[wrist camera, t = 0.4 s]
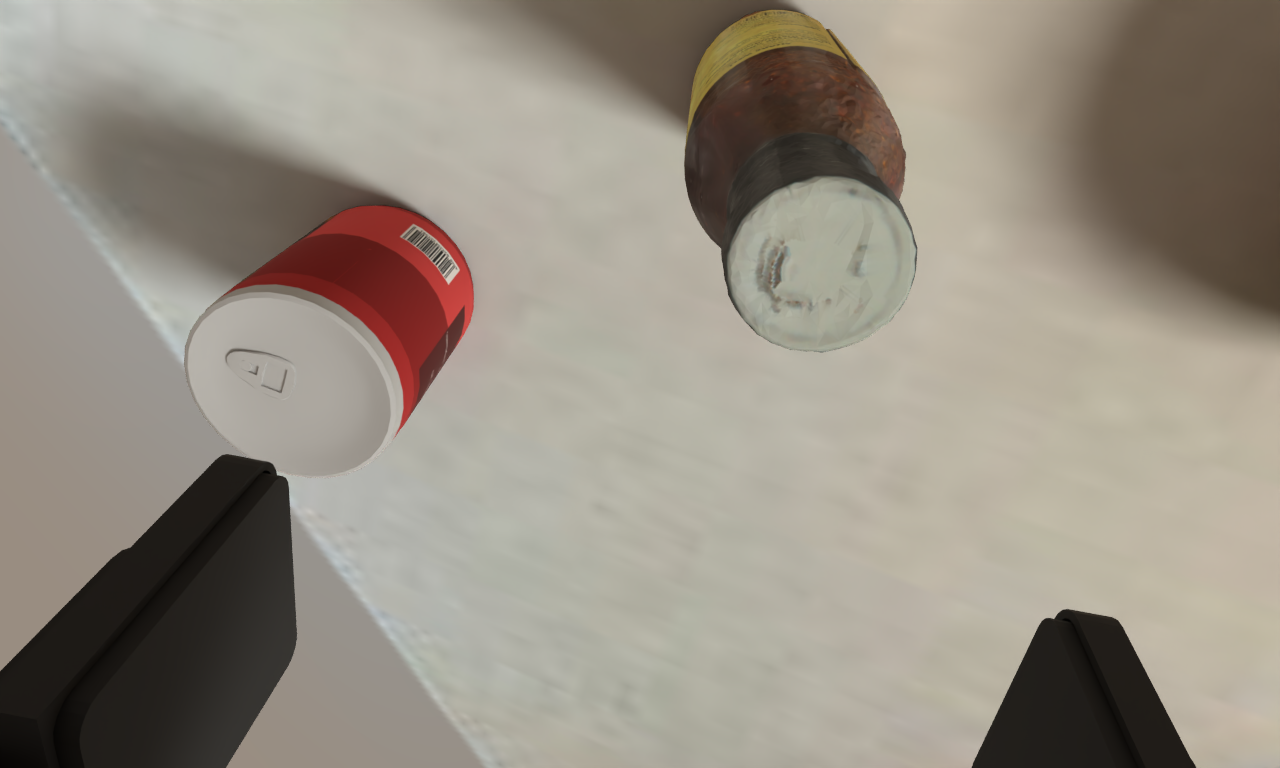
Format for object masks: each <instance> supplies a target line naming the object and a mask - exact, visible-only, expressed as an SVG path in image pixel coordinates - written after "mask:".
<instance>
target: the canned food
mask: <svg viewBox="0 0 1280 768" xmlns="http://www.w3.org/2000/svg"><path fill="white" fill-rule="evenodd" d="M473 303H474V292H473V283H472V278H471V273H470V270H469V268H468V265H467V263H466V260H465V258H464V256H463V255H462V253H461V252H460V250H459V249H458V247H457V245H456V244H455V243H454V242H453V241H452V240H451V238H450V237H449V236H448V235H447V234H446V233H445V232H444V231H443V230H441V229H440V228H439V227H438V226H436V225H435V224H434V223H432V222H431V221H429V220H427V219H426V218H424V217H422V216H420V215H418V214H416V213H414V212H411V211H408V210H405V209H402V208H397V207H391V206H384V205H383V206H359V207H355V208H351V209H347V210H344V211H342V212H340V213H338V214H336V215H334V216H332V217H330V218H329V219H328V220H326V221H325V222H323V223H322V224H321V225H319V226H318V227H316V228H315V229H314V230H312V231H311V232H309V233H308V234H307V235H305V236H304V237H302V238H301V239H300V240H298V241H297V242H295V243H294V244H293V245H291V246H290V247H288V248H287V249H286V250H284V251H283V252H282V253H280V254H279V255H277V256H276V257H275V258H273V259H272V260H270V261H269V262H268V263H266V264H265V265H263V266H262V267H261V268H259V269H258V270H256V271H255V272H254V273H252V274H251V275H249V276H248V277H247V278H245V279H244V280H242V281H241V282H240V283H238V284H237V285H235V286H234V287H233V288H232V289H231V290H230V291H228V292H227V293H226V294H224V295H223V296H221V297H220V298H219V299H218V300H217V301H215V302H214V303H213V304H212V305H211V306H210V307H208V308H207V309H206V311H205V312H204V313H203V314H202V315H201V316H200V317H199V318H198V320H197V321H196V323H195V324H194V326H193V327H192V329H191V330H190V333H189V336H188V339H187V342H186V346H185V357H184V367H185V373H186V379H187V383H188V386H189V388H190V391H191V394H192V396H193V399H194V401H195V403H196V404H197V406H198V408H199V410H200V411H201V413H202V415H203V416H204V418H205V419H206V420H207V421H208V423H209V424H210V425H211V426H212V427H213V428H214V430H215V431H216V432H217V433H218V434H219V435H220V436H221V437H222V438H223V439H224V440H226V441H227V442H228V443H229V444H230V445H231V446H232V447H234V448H235V449H237V450H238V451H240V452H241V453H243V454H244V455H245V456H247V457H248V458H251V459H256V460H261V461H267V462H270V463H272V464H273V465H274V467H275V469H276V470H277V471H280V472H283V473H286V474H289V475H295V476H301V477H307V478H331V477H336V476H342V475H347V474H349V473H352V472H354V471H357V470H359V469H362V468H363V467H365V466H366V465H368V464H369V463H371V462H372V461H373V460H375V459H376V458H377V457H378V456H379V454H380V453H382V452H383V451H384V450H385V449H386V447H387V446H388V445H389V444H390V443H391V442H392V441H393V439H394V438H395V436H396V435H397V433H398V432H399V430H400V429H401V428H402V427H403V425H404V424H405V422H406V421H407V419H408V418H409V416H410V415H411V413H412V412H413V410H414V409H415V407H416V406H417V404H418V403H419V401H420V400H421V398H422V397H423V395H424V394H425V392H426V391H427V389H428V388H429V386H430V385H431V383H432V382H433V380H434V379H435V377H436V376H437V374H438V373H439V371H440V370H441V368H442V367H443V365H444V364H445V362H446V361H447V359H448V358H449V356H450V355H451V353H452V352H453V350H454V349H455V347H456V346H457V344H458V343H459V341H460V340H461V338H462V337H463V335H464V333H465V331H466V329H467V327H468V325H469V323H470V321H471V316H472V312H473Z"/></svg>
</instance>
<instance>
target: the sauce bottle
mask: <svg viewBox="0 0 1280 768" xmlns="http://www.w3.org/2000/svg"><path fill="white" fill-rule="evenodd" d="M905 158H906V152H905V150H904V149H903V146H902V140H901V134H900V133H899V129H898V126H897V124H896V122H895V120H894V118H893V116H892V114H891V112H890V110H889V108H888V107H887V105H886V103H885V101H884V98H883V96H882V94H881V93H880V91H879V90H878V88H877V86H876V85H875V83H874V82H873V81H872V79H871V78H870V77H869V76H868V74H867V73H866V72H865V71H864V70H863V68H862V67H861V66H860V65H859V64H858V62H857V61H856V60H855V59H854V57H853V56H852V55H851V54H850V52H849V51H848V50H847V49H846V48H845V46H844V45H843V44H842V43H841V42H840V41H839V39H838V38H837V37H836V36H835V34H834V33H833V32H832V31H831V30H830V29H826V30H825V28H824V27H823V26H822V24H821V23H820V22H818V21H817V20H815V19H813V18H811V17H809V16H807V15H804V14H801V13H798V12H792V11H787V10H767V11H757V12H754V13H752V14H749V15H745V16H744V17H742V18H741V19H740V20H739V21H737V22H735V23H734V24H732V25H731V26H729V27H728V28H727V29H725V30H724V31H723V32H721V33H720V34H719V35H718V37H717V38H716V39H715V40H714V41H713V43H712V44H711V45H710V46H709V47H708V48H707V50H706V52H705V53H704V55H703V57H702V59H701V61H700V63H699V65H698V67H697V70H696V74H695V77H694V81H693V87H692V93H691V102H690V111H689V119H688V127H687V136H686V146H685V161H684V167H685V181H686V187H687V192H688V197H689V200H690V203H691V206H692V209H693V211H694V213H695V215H696V217H697V219H698V221H699V223H700V224H701V226H702V228H703V229H704V230H705V232H706V233H707V234H708V236H709V237H710V238H711V239H712V240H713V241H714V242H715V243H716V244H717V245H718V246H719V247H720V248H721V254H722V262H723V269H724V276H725V281H726V284H727V289H728V295H729V297H730V299H731V301H732V303H733V305H734V307H735V309H736V310H737V311H738V313H739V314H740V316H741V317H742V318H743V320H744V321H745V322H746V323H747V324H748V325H749V326H750V327H751V328H752V329H753V330H754V331H755V332H756V334H757V335H759V336H761V337H763V338H765V339H766V340H768V341H769V342H771V343H773V344H776V345H779V346H781V347H784V348H787V349H790V350H800V351H814V352H826V351H831V350H836V349H840V348H843V347H847V346H849V345H852V344H855V343H858V342H860V341H862V340H864V339H866V338H869V337H870V336H872V335H873V334H874V333H876V332H877V331H878V330H879V329H880V328H882V327H883V326H885V325H886V324H888V323H889V322H890V321H891V319H892V318H893V317H894V315H895V314H896V313H897V312H898V311H899V310H900V308H901V307H902V305H903V303H904V302H905V300H906V298H907V296H908V294H909V291H910V289H911V286H912V283H913V280H914V277H915V271H916V261H917V246H916V242H915V239H914V235H913V231H912V227H911V225H910V223H909V220H908V218H907V216H906V214H905V212H904V209H903V207H902V205H901V203H900V201H899V199H900V196H901V193H902V191H903V185H904V176H905Z"/></svg>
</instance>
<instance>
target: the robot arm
mask: <svg viewBox="0 0 1280 768" xmlns="http://www.w3.org/2000/svg"><path fill="white" fill-rule="evenodd" d="M296 640H297V628H296V611H295V593H294V575H293V556H292V538H291V519H290V501H289V486H288V481H287V479H286V478H285V477H283V476H278V475H277V473H276V469H275V467H274V465H273V464H272V463H270V462H267V461H261V460H256V459H251V458H245V457H240V456H234V455H229V454H226V455H222V456H220V457H219V458H218V459H217V460H215V461H214V462H213V463H212V464H211V466H209V467H208V468H207V470H206V471H205V472H204V473H203V474H202V475H201V476H200V477H199V478H198V479H197V480H196V481H195V482H194V483H193V484H192V485H191V486H190V487H189V488H188V489H187V490H186V491H185V492H184V493H183V494H182V495H181V496H180V497H179V498H178V499H177V500H176V501H175V502H174V503H173V505H171V506H170V508H169V509H168V510H167V511H166V512H165V513H164V514H163V515H162V516H161V517H160V518H159V519H158V520H157V521H156V522H155V523H154V524H153V525H152V526H151V527H150V528H149V529H148V530H147V531H146V532H145V533H144V534H143V535H142V536H141V537H140V538H139V539H138V540H137V541H136V543H134V545H133V546H132V547H131V548H128V549H125V550H122V551H121V552H119V553H118V554H117V555H116V556H114V557H113V558H112V559H111V560H110V561H109V562H108V563H107V564H106V565H105V566H104V567H103V568H102V569H101V570H100V571H99V572H98V573H97V574H96V575H95V576H94V577H93V578H92V579H91V580H90V581H89V582H88V583H87V584H86V585H85V586H84V587H83V588H82V589H81V590H80V591H79V592H78V593H77V594H76V595H75V596H74V597H73V598H72V599H71V600H70V601H69V602H68V603H67V604H66V605H65V606H64V607H63V608H62V609H61V610H60V611H59V612H58V614H56V615H55V616H54V617H53V618H52V620H51V621H49V622H48V624H46V626H45V627H44V628H43V629H42V630H41V631H40V632H39V633H38V634H37V635H36V636H35V637H34V638H33V639H32V640H31V641H30V642H29V643H28V644H27V645H26V646H25V647H24V648H23V649H22V650H21V651H20V652H19V653H18V654H17V655H16V656H15V657H14V658H13V659H12V660H11V661H10V662H9V663H8V664H7V665H6V666H5V667H4V668H3V669H2V670H1V671H0V768H226V766H227V765H228V763H229V762H230V760H231V758H232V757H233V755H234V753H235V752H236V750H237V749H238V747H239V745H240V744H241V742H242V740H243V739H244V737H245V735H246V734H247V732H248V731H249V729H250V727H251V725H252V724H253V722H254V721H255V719H256V717H257V716H258V714H259V713H260V711H261V709H262V708H263V706H264V705H265V703H266V701H267V700H268V698H269V696H270V695H271V693H272V691H273V690H274V688H275V687H276V685H277V683H278V682H279V680H280V678H281V677H282V675H283V673H284V671H285V670H286V669H287V667H288V665H289V663H290V661H291V659H292V656H293V653H294V650H295V646H296ZM972 768H1196V766H1195V764H1194V763H1193V761H1192V760H1191V758H1190V756H1189V754H1188V753H1187V751H1186V749H1185V747H1184V745H1183V743H1182V741H1181V739H1180V737H1179V735H1178V733H1177V731H1176V729H1175V727H1174V725H1173V723H1172V722H1171V720H1170V718H1169V716H1168V714H1167V712H1166V710H1165V708H1164V706H1163V704H1162V702H1161V700H1160V698H1159V696H1158V694H1157V693H1156V691H1155V689H1154V687H1153V685H1152V683H1151V681H1150V679H1149V677H1148V675H1147V673H1146V671H1145V669H1144V667H1143V665H1142V664H1141V662H1140V660H1139V658H1138V656H1137V654H1136V652H1135V650H1134V648H1133V646H1132V644H1131V642H1130V640H1129V638H1128V636H1127V634H1126V633H1125V631H1124V629H1123V627H1122V625H1121V624H1120V623H1119V621H1118V620H1116V619H1114V618H1113V617H1107V616H1102V615H1097V614H1091V613H1086V612H1080V611H1075V610H1069V609H1066V610H1062V611H1061V612H1059V613H1058V614H1057V616H1056V617H1055V619H1051V618H1045V619H1044V620H1043V621H1042V622H1041V623H1040V625H1039V627H1038V629H1037V631H1036V633H1035V635H1034V637H1033V639H1032V641H1031V643H1030V645H1029V648H1028V650H1027V652H1026V654H1025V656H1024V658H1023V660H1022V662H1021V664H1020V666H1019V668H1018V671H1017V673H1016V675H1015V677H1014V679H1013V681H1012V683H1011V685H1010V687H1009V689H1008V691H1007V694H1006V696H1005V698H1004V700H1003V702H1002V704H1001V706H1000V708H999V710H998V712H997V714H996V717H995V719H994V721H993V723H992V725H991V727H990V729H989V731H988V733H987V735H986V737H985V740H984V742H983V744H982V746H981V748H980V750H979V752H978V754H977V756H976V758H975V760H974V763H973V766H972Z"/></svg>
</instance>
